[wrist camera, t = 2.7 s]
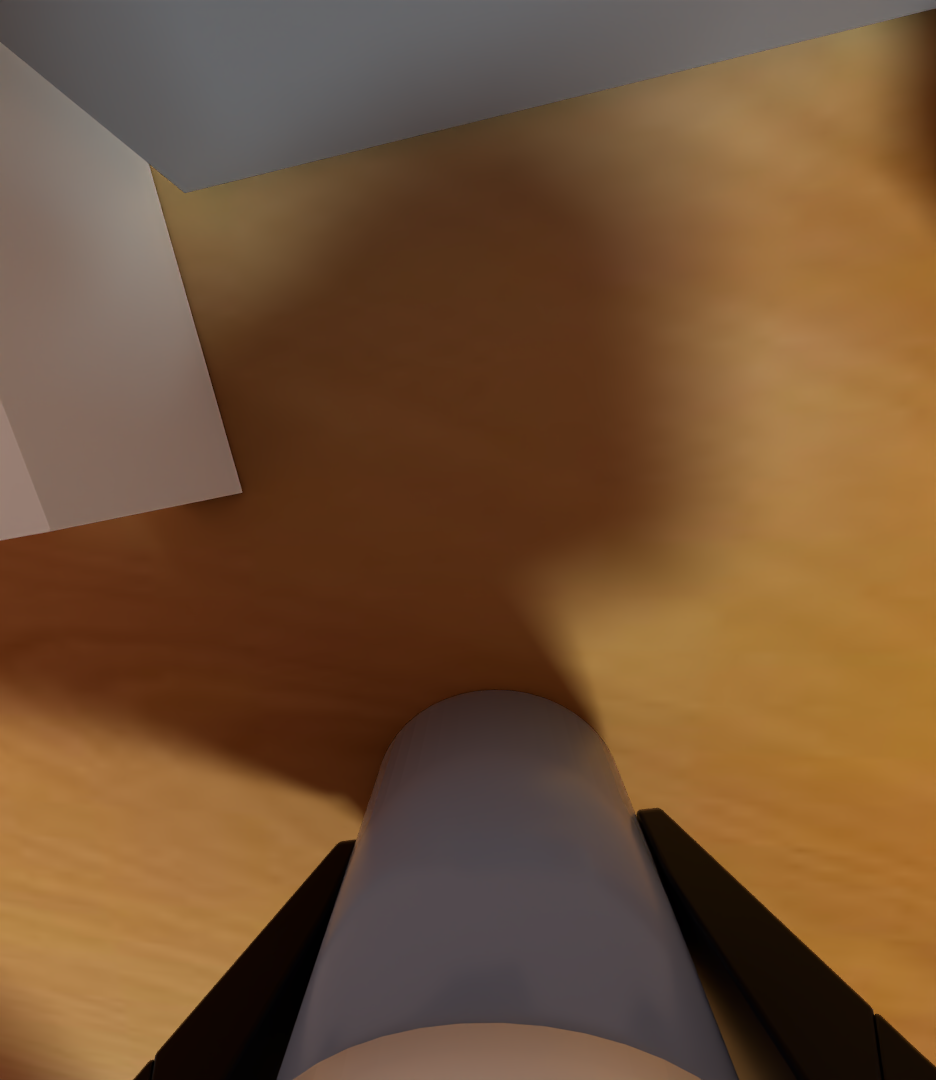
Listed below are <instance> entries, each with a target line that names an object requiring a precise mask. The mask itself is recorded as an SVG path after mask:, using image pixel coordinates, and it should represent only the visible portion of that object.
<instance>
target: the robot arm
mask: <svg viewBox="0 0 936 1080" xmlns="http://www.w3.org/2000/svg"><path fill="white" fill-rule="evenodd" d="M637 820H638V822H639V825H640V827H641V830H642V832H643V835H644V838H645V840H646V843H647V845H648V848H649V850H650V853H651V855H652V858H653V861H654V863H655V866H656V868H657V871H658V873H659V876H660V878H661V881H662V884H663V886H664V889H665V891H666V894H667V896H668V899H669V901H670V904H671V907H672V909H673V912H674V914H675V917H676V919H677V922H678V924H679V927H680V930H681V932H682V935H683V937H684V940H685V942H686V945H687V947H688V950H689V953H690V955H691V958H692V960H693V963H694V965H695V968H696V970H697V973H698V976H699V978H700V981H701V983H702V986H703V988H704V991H705V993H706V996H707V999H708V1001H709V1004H710V1006H711V1009H712V1011H713V1014H714V1016H715V1019H716V1022H717V1024H718V1027H719V1029H720V1032H721V1034H722V1037H723V1039H724V1042H725V1045H726V1047H727V1050H728V1052H729V1055H730V1057H731V1060H732V1062H733V1065H734V1068H735V1070H736V1073H737V1075H738V1078H739V1080H936V1067H935V1066H934V1065H933V1064H932V1063H931V1062H930V1061H929V1060H928V1059H927V1058H925V1057H924V1056H923V1055H922V1054H921V1053H920V1052H919V1051H918V1050H917V1049H916V1048H915V1047H913V1046H912V1045H911V1044H910V1043H909V1042H908V1041H907V1040H906V1039H905V1038H904V1037H903V1036H902V1035H901V1034H900V1033H899V1032H898V1031H897V1030H895V1029H894V1028H893V1027H892V1026H891V1025H890V1024H889V1023H888V1022H887V1021H886V1020H885V1019H884V1018H883V1017H882V1016H881V1015H879V1014H875V1015H874V1013H873V1009H872V1008H871V1006H870V1005H869V1004H868V1003H867V1002H866V1001H864V1000H863V999H862V998H861V997H860V996H859V995H858V994H857V993H856V992H855V991H854V990H853V989H852V988H851V987H850V986H849V985H847V984H846V983H845V982H844V981H843V980H842V979H841V978H840V977H839V976H838V975H837V974H836V973H835V972H834V971H833V970H832V969H831V968H829V967H828V966H827V965H826V964H825V963H824V962H823V961H822V960H821V959H820V958H819V957H818V956H817V955H816V954H815V953H814V952H812V951H811V950H810V949H809V948H808V947H807V946H806V945H805V944H804V943H803V942H802V941H801V940H800V939H799V938H798V937H797V936H796V935H794V934H793V933H792V932H791V931H790V930H789V929H788V928H787V927H786V926H785V925H784V924H783V923H782V922H781V921H780V920H779V919H777V918H776V917H775V916H774V915H773V914H772V913H771V912H770V911H769V910H768V909H767V908H766V907H765V906H764V905H763V904H762V903H761V902H759V901H758V900H757V899H756V898H755V897H754V896H753V895H752V894H751V893H750V892H749V891H748V890H747V889H746V888H745V887H744V886H742V885H741V884H740V883H739V882H738V881H737V880H736V879H735V878H734V877H733V876H732V875H731V874H730V873H729V872H728V871H727V870H726V869H724V868H723V867H722V866H721V865H720V864H719V863H718V862H717V861H716V860H715V859H714V858H713V857H712V856H711V855H710V854H709V853H707V852H706V851H705V850H704V849H703V848H702V847H701V846H700V845H699V844H698V843H697V842H696V841H695V840H694V839H693V838H692V837H690V836H689V835H688V834H687V833H686V832H685V831H684V830H683V829H682V828H681V827H680V826H679V825H678V824H677V823H676V822H675V821H674V820H672V819H671V818H670V817H669V816H668V815H667V814H666V813H665V812H664V811H663V810H661V809H659V808H652V809H642V810H639V811H638V812H637ZM355 842H356V840H348V841H341V842H339V843H338V844H337V845H336V846H335V847H334V848H333V849H332V850H331V852H330V853H329V854H328V855H327V856H326V857H325V858H324V860H323V861H322V862H321V863H320V864H319V865H318V867H317V868H316V869H315V870H314V871H313V872H312V874H311V875H310V876H309V877H308V878H307V879H306V880H305V882H304V883H303V884H302V885H301V886H300V887H299V889H298V890H297V891H296V892H295V893H294V894H293V896H292V897H291V898H290V899H289V900H288V901H287V902H286V904H285V905H284V906H283V907H282V908H281V909H280V911H279V912H278V913H277V914H276V915H275V916H274V918H273V919H272V920H271V921H270V922H269V923H268V924H267V926H266V927H265V928H264V929H263V930H262V931H261V933H260V934H259V935H258V936H257V937H256V938H255V940H254V941H253V942H252V943H251V944H250V945H249V947H248V948H247V949H246V950H245V951H244V952H243V953H242V955H241V956H240V957H239V958H238V959H237V960H236V962H235V963H234V964H233V965H232V966H231V967H230V969H229V970H228V971H227V972H226V973H225V974H224V975H223V977H222V978H221V979H220V980H219V981H218V982H217V984H216V985H215V986H214V987H213V988H212V989H211V991H210V992H209V993H208V994H207V995H206V996H205V997H204V999H203V1000H202V1001H201V1002H200V1003H199V1004H198V1006H197V1007H196V1008H195V1009H194V1010H193V1011H192V1013H191V1014H190V1015H189V1016H188V1017H187V1018H186V1019H185V1021H184V1022H183V1023H182V1024H181V1025H180V1026H179V1028H178V1029H177V1030H176V1031H175V1032H174V1033H173V1035H172V1036H171V1037H170V1038H169V1039H168V1040H167V1041H166V1043H165V1044H164V1045H163V1046H162V1047H161V1048H160V1050H159V1051H158V1052H157V1053H156V1055H155V1059H154V1060H150V1061H149V1062H148V1063H147V1064H146V1066H145V1067H144V1068H143V1069H142V1070H141V1071H140V1072H139V1074H138V1075H137V1076H136V1077H135V1078H134V1079H133V1080H277V1077H278V1074H279V1071H280V1068H281V1065H282V1062H283V1059H284V1056H285V1053H286V1050H287V1047H288V1044H289V1041H290V1038H291V1035H292V1032H293V1029H294V1026H295V1023H296V1020H297V1017H298V1014H299V1011H300V1008H301V1005H302V1002H303V999H304V996H305V993H306V990H307V987H308V984H309V981H310V978H311V975H312V972H313V969H314V966H315V963H316V960H317V956H318V953H319V950H320V947H321V944H322V941H323V938H324V935H325V932H326V929H327V926H328V923H329V920H330V917H331V914H332V911H333V908H334V905H335V902H336V899H337V896H338V893H339V890H340V887H341V884H342V881H343V878H344V875H345V872H346V869H347V866H348V863H349V860H350V857H351V854H352V851H353V848H354V845H355Z"/></svg>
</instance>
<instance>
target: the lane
mask: <svg viewBox="0 0 936 1080" xmlns="http://www.w3.org/2000/svg"><path fill="white" fill-rule="evenodd" d="M239 493H243V492H242V489H241V485H240V482H239V478H238V475H237V471H236V468H235V464H234V461H233V457H232V454H231V450H230V447H229V443H228V440H227V436H226V433H225V429H224V426H223V422H222V419H221V415H220V412H219V408H218V405H217V401H216V398H215V394H214V391H213V387H212V384H211V380H210V377H209V373H208V370H207V366H206V363H205V359H204V356H203V352H202V349H201V345H200V342H199V338H198V335H197V331H196V328H195V324H194V321H193V317H192V314H191V310H190V307H189V303H188V300H187V296H186V293H185V289H184V286H183V282H182V279H181V275H180V272H179V268H178V265H177V261H176V258H175V254H174V251H173V247H172V244H171V240H170V237H169V233H168V230H167V226H166V223H165V219H164V216H163V212H162V209H161V205H160V202H159V198H158V195H157V191H156V188H155V184H154V181H153V177H152V174H151V170H150V167H149V163H147V162H146V161H145V160H144V159H143V158H141V157H140V156H139V155H138V154H136V153H135V152H134V151H133V150H132V149H130V148H129V147H128V146H127V145H125V144H124V143H123V142H122V141H121V140H119V139H118V138H117V137H116V136H114V135H113V134H112V133H111V132H110V131H108V130H107V129H106V128H105V127H103V126H102V125H101V124H100V123H99V122H97V121H96V120H95V119H94V118H92V117H91V116H90V115H89V114H88V113H86V112H85V111H84V110H83V109H81V108H80V107H79V106H78V105H77V104H75V103H74V102H73V101H72V100H70V99H69V98H68V97H67V96H66V95H64V94H63V93H62V92H61V91H59V90H58V89H57V88H56V87H55V86H53V85H52V84H51V83H50V82H48V81H47V80H46V79H45V78H44V77H42V76H41V75H40V74H39V73H37V72H36V71H35V70H34V69H33V68H31V67H30V66H29V65H28V64H27V63H25V62H24V61H23V60H22V59H20V58H19V57H18V56H17V55H16V54H14V53H13V52H12V51H11V50H9V49H8V48H7V47H6V46H5V45H3V44H2V43H1V42H0V540H6V539H12V538H17V537H23V536H28V535H34V534H39V533H45V532H50V531H56V530H60V529H65V528H70V527H75V526H80V525H85V524H90V523H95V522H100V521H105V520H110V519H115V518H120V517H125V516H130V515H135V514H140V513H145V512H150V511H155V510H159V509H164V508H169V507H174V506H179V505H184V504H189V503H194V502H199V501H204V500H209V499H214V498H219V497H224V496H229V495H234V494H239Z"/></svg>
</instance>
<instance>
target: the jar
mask: <svg viewBox="0 0 936 1080" xmlns="http://www.w3.org/2000/svg"><path fill="white" fill-rule="evenodd" d="M277 1080H739V1078H738V1075H737V1073H736V1070H735V1068H734V1065H733V1062H732V1060H731V1057H730V1055H729V1052H728V1050H727V1047H726V1045H725V1042H724V1039H723V1037H722V1034H721V1032H720V1029H719V1027H718V1024H717V1022H716V1019H715V1016H714V1014H713V1011H712V1009H711V1006H710V1004H709V1001H708V999H707V996H706V993H705V991H704V988H703V986H702V983H701V981H700V978H699V976H698V973H697V970H696V968H695V965H694V963H693V960H692V958H691V955H690V953H689V950H688V947H687V945H686V942H685V940H684V937H683V935H682V932H681V930H680V927H679V924H678V922H677V919H676V917H675V914H674V912H673V909H672V907H671V904H670V901H669V899H668V896H667V894H666V891H665V889H664V886H663V884H662V881H661V878H660V876H659V873H658V871H657V868H656V866H655V863H654V861H653V858H652V855H651V853H650V850H649V848H648V845H647V843H646V840H645V838H644V835H643V832H642V830H641V827H640V825H639V822H638V820H637V817H636V815H635V812H634V809H633V807H632V804H631V802H630V799H629V797H628V794H627V792H626V789H625V786H624V784H623V781H622V779H621V776H620V774H619V771H618V769H617V766H616V763H615V761H614V758H613V757H612V755H611V753H610V751H609V749H608V747H607V746H606V744H605V743H604V742H603V740H602V739H601V738H600V736H599V735H598V734H597V733H596V732H595V731H594V730H593V729H592V728H591V727H590V726H589V725H588V724H587V723H586V722H585V721H584V720H583V719H581V718H580V717H579V716H577V715H576V714H575V713H573V712H572V711H570V710H568V709H566V708H565V707H563V706H561V705H559V704H557V703H555V702H552V701H550V700H548V699H545V698H542V697H539V696H536V695H532V694H529V693H523V692H517V691H509V690H484V691H475V692H470V693H464V694H460V695H457V696H454V697H451V698H448V699H445V700H443V701H441V702H438V703H436V704H434V705H432V706H430V707H429V708H427V709H425V710H424V711H422V712H421V713H419V714H418V715H417V716H415V717H414V718H413V719H412V720H411V721H409V722H408V723H407V724H406V725H405V726H404V727H403V728H402V730H401V731H400V732H399V733H398V734H397V735H396V737H395V738H394V740H393V741H392V743H391V744H390V746H389V748H388V750H387V752H386V754H385V756H384V758H383V761H382V764H381V767H380V770H379V773H378V776H377V779H376V782H375V785H374V788H373V791H372V794H371V797H370V800H369V803H368V806H367V809H366V812H365V815H364V818H363V821H362V824H361V827H360V830H359V833H358V836H357V839H356V842H355V845H354V848H353V851H352V854H351V857H350V860H349V863H348V866H347V869H346V872H345V875H344V878H343V881H342V884H341V887H340V890H339V893H338V896H337V899H336V902H335V905H334V908H333V911H332V914H331V917H330V920H329V923H328V926H327V929H326V932H325V935H324V938H323V941H322V944H321V947H320V950H319V953H318V956H317V960H316V963H315V966H314V969H313V972H312V975H311V978H310V981H309V984H308V987H307V990H306V993H305V996H304V999H303V1002H302V1005H301V1008H300V1011H299V1014H298V1017H297V1020H296V1023H295V1026H294V1029H293V1032H292V1035H291V1038H290V1041H289V1044H288V1047H287V1050H286V1053H285V1056H284V1059H283V1062H282V1065H281V1068H280V1071H279V1074H278V1077H277Z"/></svg>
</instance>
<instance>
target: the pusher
mask: <svg viewBox="0 0 936 1080" xmlns="http://www.w3.org/2000/svg"><path fill="white" fill-rule="evenodd" d="M932 9H936V0H0V42H1V43H2V44H3V45H5V46H6V47H7V48H8V49H9V50H11V51H12V52H13V53H14V54H16V55H17V56H18V57H19V58H20V59H22V60H23V61H24V62H25V63H27V64H28V65H29V66H30V67H31V68H33V69H34V70H35V71H36V72H37V73H39V74H40V75H41V76H42V77H44V78H45V79H46V80H47V81H48V82H50V83H51V84H52V85H53V86H55V87H56V88H57V89H58V90H59V91H61V92H62V93H63V94H64V95H66V96H67V97H68V98H69V99H70V100H72V101H73V102H74V103H75V104H77V105H78V106H79V107H80V108H81V109H83V110H84V111H85V112H86V113H88V114H89V115H90V116H91V117H92V118H94V119H95V120H96V121H97V122H99V123H100V124H101V125H102V126H103V127H105V128H106V129H107V130H108V131H110V132H111V133H112V134H113V135H114V136H116V137H117V138H118V139H119V140H121V141H122V142H123V143H124V144H125V145H127V146H128V147H129V148H130V149H132V150H133V151H134V152H135V153H136V154H138V155H139V156H140V157H141V158H143V159H144V160H145V161H146V162H147V163H149V164H150V165H151V166H152V167H154V168H155V169H156V170H157V171H158V172H160V173H161V174H162V175H163V176H165V177H166V178H167V179H168V180H169V181H171V182H172V183H173V184H174V185H176V186H177V187H178V188H179V189H180V190H182V191H183V192H184V193H187V192H191V191H195V190H199V189H203V188H208V187H212V186H216V185H220V184H224V183H228V182H232V181H236V180H240V179H244V178H248V177H252V176H256V175H260V174H264V173H269V172H273V171H277V170H281V169H285V168H289V167H293V166H297V165H301V164H305V163H309V162H313V161H317V160H321V159H325V158H330V157H334V156H338V155H342V154H346V153H350V152H354V151H358V150H362V149H366V148H370V147H374V146H378V145H382V144H386V143H391V142H395V141H399V140H403V139H407V138H411V137H415V136H419V135H423V134H427V133H431V132H435V131H439V130H443V129H447V128H452V127H456V126H460V125H464V124H468V123H472V122H476V121H480V120H484V119H488V118H492V117H496V116H500V115H504V114H509V113H513V112H517V111H521V110H525V109H529V108H533V107H537V106H541V105H545V104H549V103H553V102H557V101H561V100H565V99H570V98H574V97H578V96H582V95H586V94H590V93H594V92H598V91H602V90H606V89H610V88H614V87H618V86H622V85H626V84H631V83H635V82H639V81H643V80H647V79H651V78H655V77H659V76H663V75H667V74H671V73H675V72H679V71H683V70H687V69H692V68H696V67H700V66H704V65H708V64H712V63H716V62H720V61H724V60H728V59H732V58H736V57H740V56H744V55H748V54H753V53H757V52H761V51H765V50H769V49H773V48H777V47H781V46H785V45H789V44H793V43H797V42H801V41H805V40H810V39H814V38H818V37H822V36H826V35H830V34H834V33H838V32H842V31H846V30H850V29H854V28H858V27H862V26H866V25H871V24H875V23H879V22H883V21H887V20H891V19H895V18H899V17H903V16H907V15H911V14H915V13H919V12H923V11H927V10H932Z"/></svg>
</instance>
